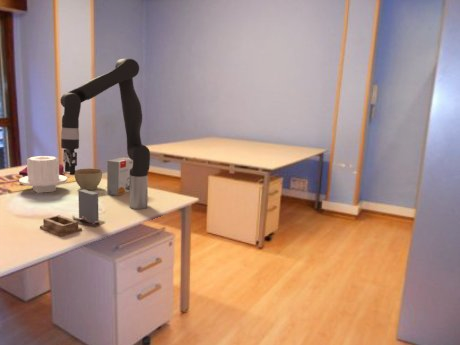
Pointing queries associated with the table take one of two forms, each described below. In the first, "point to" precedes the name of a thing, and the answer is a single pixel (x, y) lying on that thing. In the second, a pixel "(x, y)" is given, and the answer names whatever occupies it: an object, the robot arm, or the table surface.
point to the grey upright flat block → (88, 205)
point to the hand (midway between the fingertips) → (69, 173)
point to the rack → (60, 225)
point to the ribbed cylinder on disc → (43, 174)
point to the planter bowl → (88, 178)
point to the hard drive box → (118, 176)
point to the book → (24, 173)
